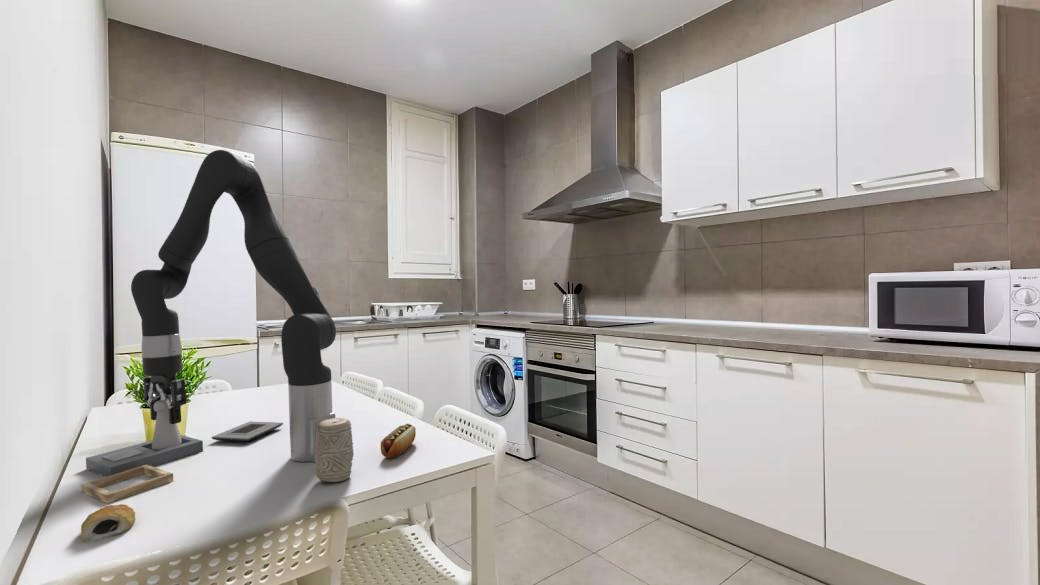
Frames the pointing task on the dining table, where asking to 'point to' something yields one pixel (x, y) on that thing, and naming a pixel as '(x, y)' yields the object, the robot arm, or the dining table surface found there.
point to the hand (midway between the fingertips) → (165, 421)
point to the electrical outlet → (247, 431)
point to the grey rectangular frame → (140, 456)
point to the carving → (333, 450)
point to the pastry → (107, 522)
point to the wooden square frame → (107, 497)
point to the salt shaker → (164, 428)
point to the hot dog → (398, 441)
